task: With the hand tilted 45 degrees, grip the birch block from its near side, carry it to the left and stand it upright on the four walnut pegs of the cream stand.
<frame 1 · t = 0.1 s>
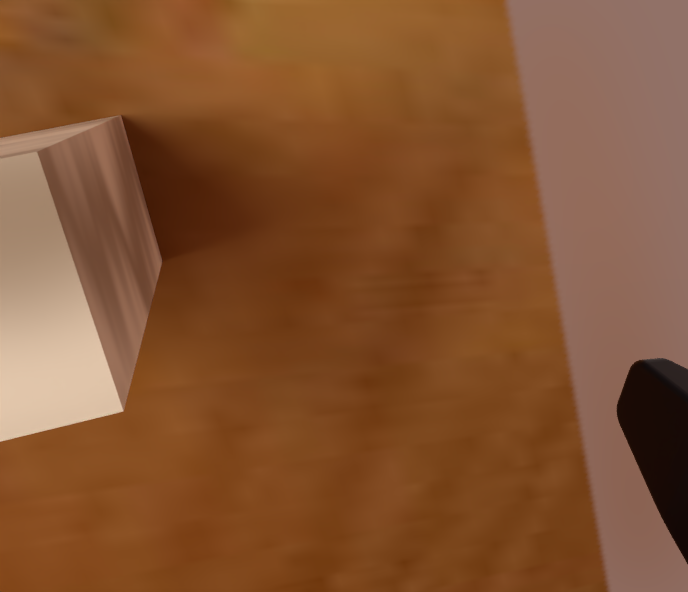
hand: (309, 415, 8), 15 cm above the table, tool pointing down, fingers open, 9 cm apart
birch block: (66, 206, 22), on the table
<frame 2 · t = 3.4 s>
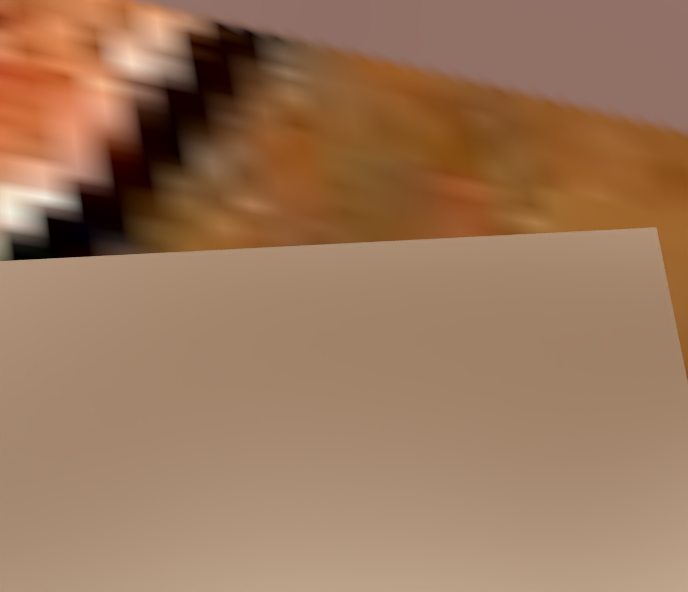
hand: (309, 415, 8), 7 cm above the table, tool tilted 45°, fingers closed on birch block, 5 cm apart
birch block: (280, 487, 15), on the table, touching gripper
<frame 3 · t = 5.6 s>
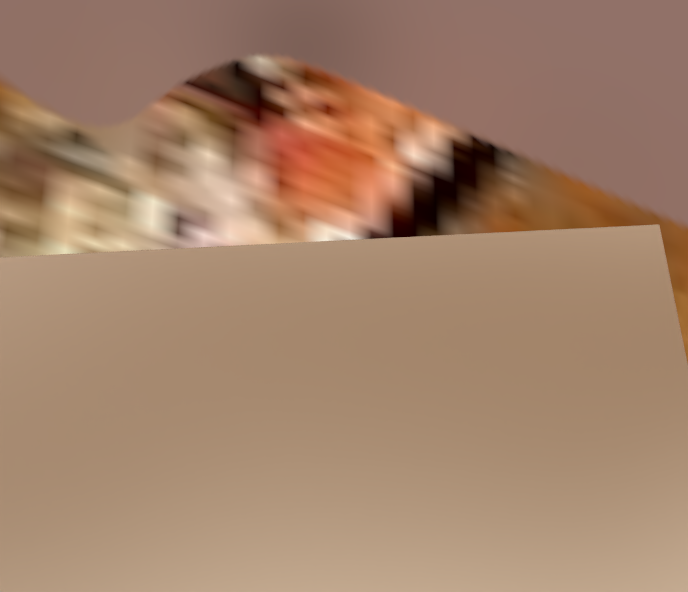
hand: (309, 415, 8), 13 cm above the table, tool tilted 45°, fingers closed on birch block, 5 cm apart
birch block: (282, 486, 15), point 6 cm above the table, touching gripper
when the fingers open (11 cm above the table, at t = 7.7 s): birch block stays where it is, resting on peg stand.
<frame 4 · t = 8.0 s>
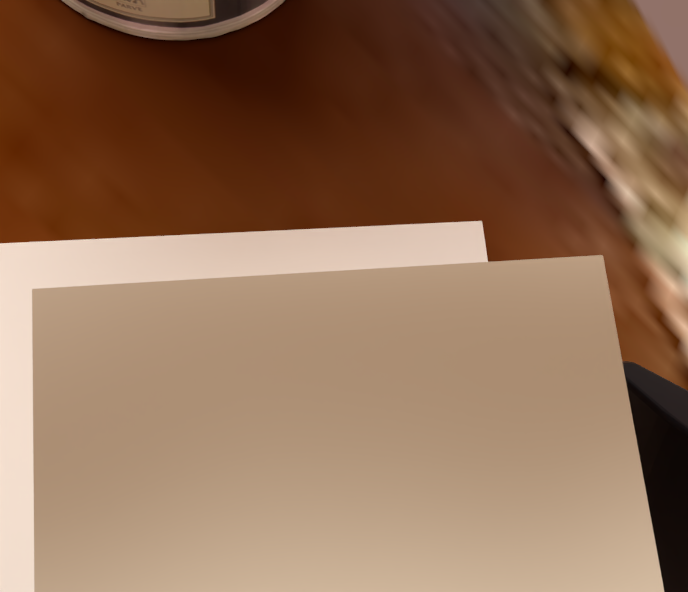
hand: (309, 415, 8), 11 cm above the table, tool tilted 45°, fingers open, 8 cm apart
peg stand: (271, 477, 19), on the table
birch block: (279, 483, 16), point 3 cm above the table, touching peg stand
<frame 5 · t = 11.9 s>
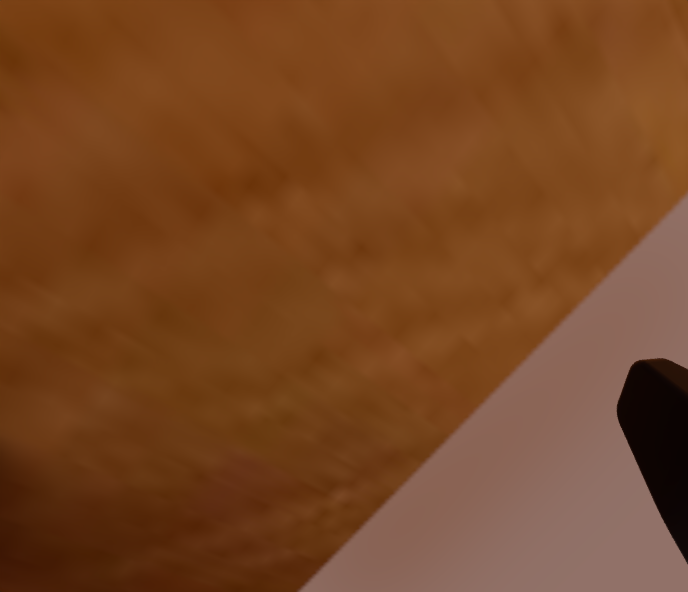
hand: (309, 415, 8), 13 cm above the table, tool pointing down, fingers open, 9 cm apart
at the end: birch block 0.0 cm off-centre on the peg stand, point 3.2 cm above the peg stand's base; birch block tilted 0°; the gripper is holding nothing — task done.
